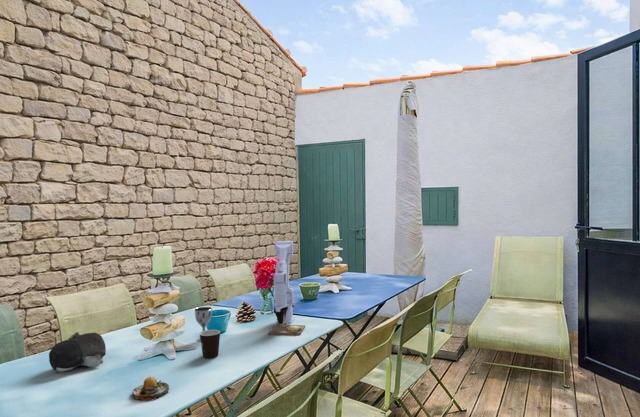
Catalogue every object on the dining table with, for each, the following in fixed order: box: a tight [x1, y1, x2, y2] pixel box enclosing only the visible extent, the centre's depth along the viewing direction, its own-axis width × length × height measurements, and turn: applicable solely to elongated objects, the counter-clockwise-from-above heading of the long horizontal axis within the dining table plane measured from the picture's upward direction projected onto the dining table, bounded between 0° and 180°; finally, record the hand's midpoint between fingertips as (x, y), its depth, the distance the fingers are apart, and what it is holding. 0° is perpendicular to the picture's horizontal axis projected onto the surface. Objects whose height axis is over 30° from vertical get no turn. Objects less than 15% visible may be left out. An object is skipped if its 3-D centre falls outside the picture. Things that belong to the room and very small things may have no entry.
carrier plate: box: [267, 322, 306, 336], centre depth 222 cm, size 14×16×3 cm
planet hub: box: [276, 315, 285, 326], centre depth 223 cm, size 4×4×7 cm
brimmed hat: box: [131, 376, 170, 402], centre depth 151 cm, size 12×12×8 cm
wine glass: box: [194, 306, 213, 343], centre depth 210 cm, size 8×8×15 cm
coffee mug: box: [199, 329, 221, 360], centre depth 189 cm, size 12×9×10 cm
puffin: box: [48, 331, 107, 372], centre depth 178 cm, size 20×21×13 cm
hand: (281, 322), depth 223 cm, fingers closed on planet hub, 4 cm apart
